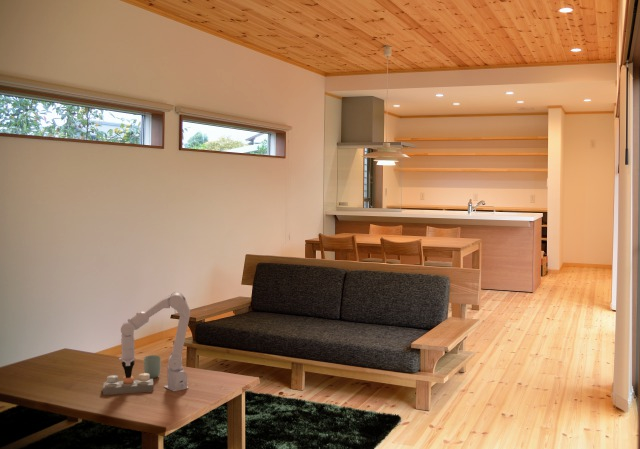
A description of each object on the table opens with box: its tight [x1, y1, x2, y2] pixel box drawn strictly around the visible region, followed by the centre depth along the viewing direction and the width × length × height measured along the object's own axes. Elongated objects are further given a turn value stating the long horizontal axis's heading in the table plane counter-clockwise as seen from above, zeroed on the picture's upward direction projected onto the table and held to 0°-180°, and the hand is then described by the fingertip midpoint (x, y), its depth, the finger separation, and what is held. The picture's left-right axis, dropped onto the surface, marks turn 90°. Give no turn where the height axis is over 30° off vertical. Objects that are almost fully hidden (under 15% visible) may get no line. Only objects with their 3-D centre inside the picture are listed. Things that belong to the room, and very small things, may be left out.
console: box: [102, 378, 154, 396], centre depth 312 cm, size 22×10×3 cm, turn 105°
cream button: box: [138, 372, 151, 381], centre depth 313 cm, size 5×5×2 cm
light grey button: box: [106, 374, 119, 384], centre depth 310 cm, size 5×5×2 cm
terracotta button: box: [122, 375, 135, 384], centre depth 312 cm, size 5×5×2 cm
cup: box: [143, 354, 162, 379], centre depth 332 cm, size 8×8×10 cm
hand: (128, 377), depth 312 cm, fingers closed, pressing on terracotta button
